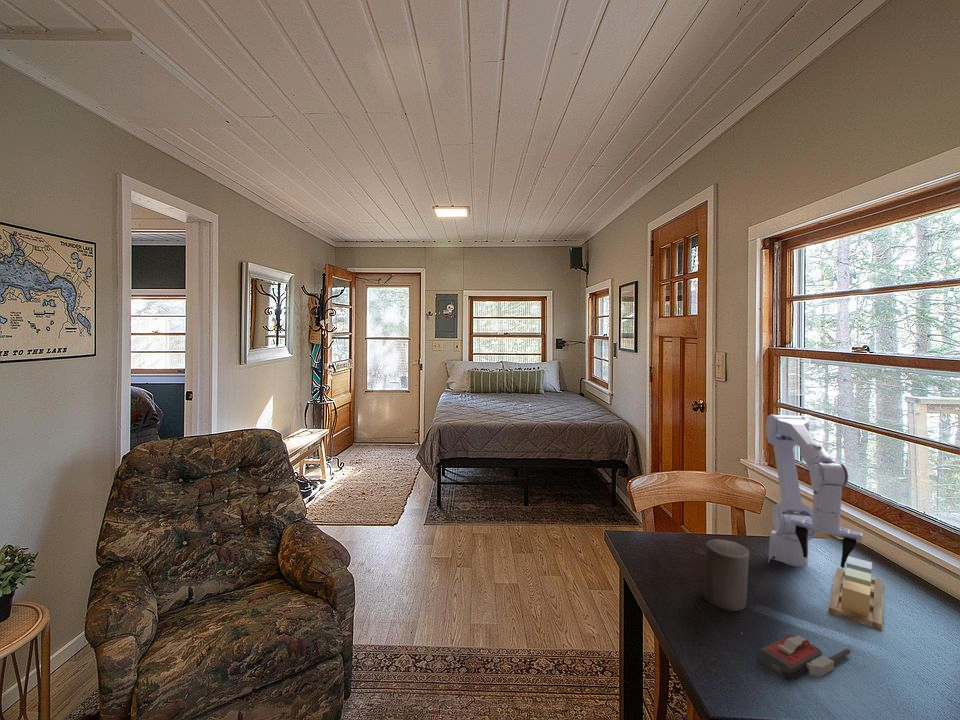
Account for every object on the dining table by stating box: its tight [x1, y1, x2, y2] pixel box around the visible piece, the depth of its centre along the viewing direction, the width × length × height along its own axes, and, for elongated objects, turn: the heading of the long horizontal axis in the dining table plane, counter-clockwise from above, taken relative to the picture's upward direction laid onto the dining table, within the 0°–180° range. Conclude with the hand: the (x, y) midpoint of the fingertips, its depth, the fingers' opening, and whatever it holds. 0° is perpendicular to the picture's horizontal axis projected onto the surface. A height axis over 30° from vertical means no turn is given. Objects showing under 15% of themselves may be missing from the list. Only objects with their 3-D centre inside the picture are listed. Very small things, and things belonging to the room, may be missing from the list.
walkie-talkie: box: [759, 634, 851, 681], centre depth 95 cm, size 9×4×20 cm
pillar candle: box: [702, 538, 750, 612], centre depth 116 cm, size 10×10×15 cm
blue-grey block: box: [846, 555, 873, 575], centre depth 121 cm, size 5×5×6 cm
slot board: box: [826, 567, 884, 631], centre depth 115 cm, size 10×26×3 cm, turn 138°
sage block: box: [844, 566, 872, 587], centre depth 115 cm, size 5×5×6 cm
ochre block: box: [841, 579, 871, 617], centre depth 109 cm, size 5×5×6 cm
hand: (823, 561), depth 118 cm, fingers open, 7 cm apart
